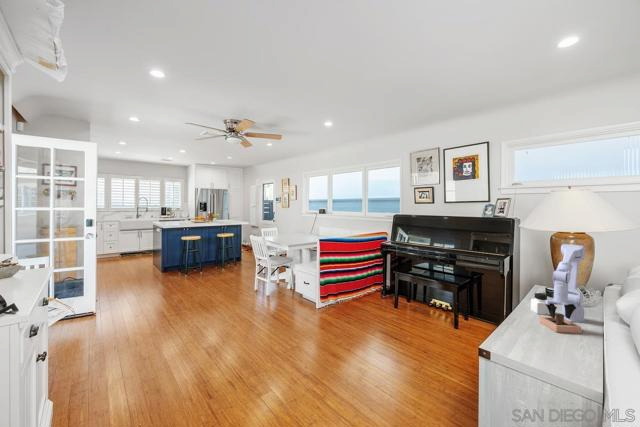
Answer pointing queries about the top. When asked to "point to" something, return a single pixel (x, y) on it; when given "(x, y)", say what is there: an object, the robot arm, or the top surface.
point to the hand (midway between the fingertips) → (559, 317)
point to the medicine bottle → (539, 304)
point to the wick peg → (559, 319)
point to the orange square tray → (565, 328)
